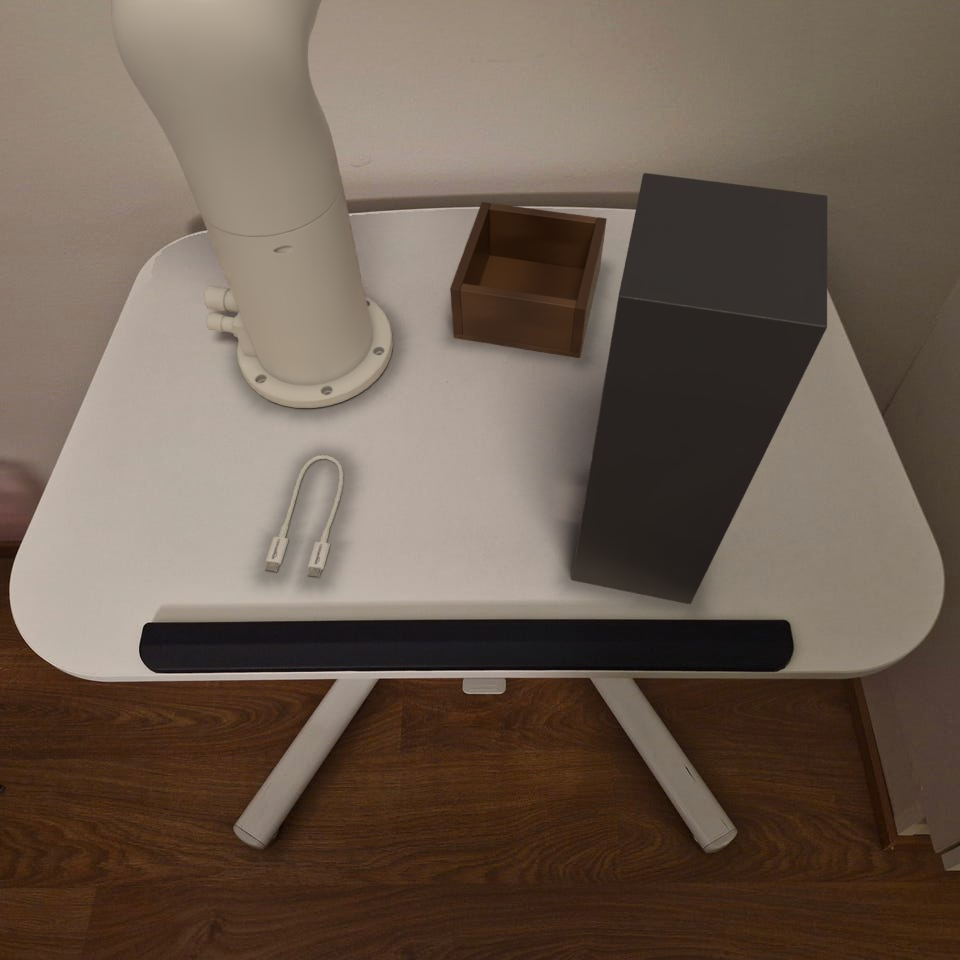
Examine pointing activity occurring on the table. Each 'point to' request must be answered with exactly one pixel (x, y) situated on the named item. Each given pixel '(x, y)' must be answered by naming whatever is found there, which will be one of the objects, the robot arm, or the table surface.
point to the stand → (697, 374)
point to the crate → (528, 279)
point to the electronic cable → (319, 547)
